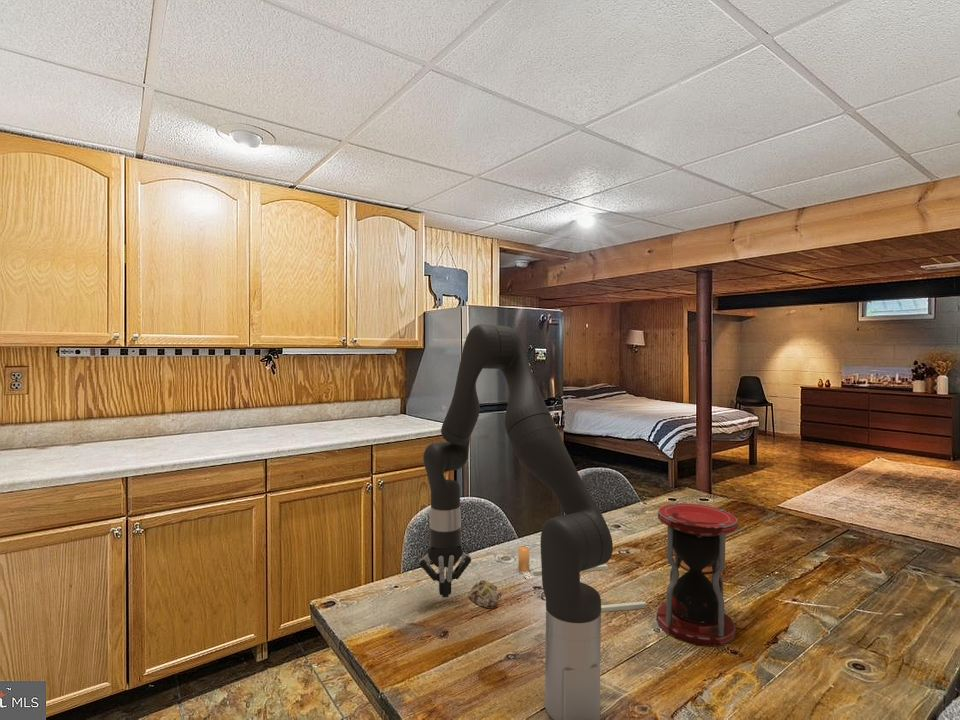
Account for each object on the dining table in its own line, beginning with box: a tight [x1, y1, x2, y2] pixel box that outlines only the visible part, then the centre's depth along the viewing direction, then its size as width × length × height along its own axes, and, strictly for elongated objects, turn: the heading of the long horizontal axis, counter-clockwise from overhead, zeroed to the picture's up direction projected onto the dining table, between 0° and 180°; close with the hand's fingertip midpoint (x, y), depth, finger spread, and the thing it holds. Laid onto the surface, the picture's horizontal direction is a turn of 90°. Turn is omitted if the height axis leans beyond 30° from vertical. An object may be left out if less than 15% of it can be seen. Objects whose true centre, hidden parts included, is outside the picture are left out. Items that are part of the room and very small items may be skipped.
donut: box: [680, 559, 713, 574], centre depth 144 cm, size 10×10×4 cm
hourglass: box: [655, 502, 738, 647], centre depth 113 cm, size 16×16×25 cm
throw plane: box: [517, 546, 647, 614], centre depth 130 cm, size 30×24×6 cm
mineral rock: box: [467, 579, 502, 609], centre depth 126 cm, size 11×4×8 cm
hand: (445, 595), depth 124 cm, fingers closed
